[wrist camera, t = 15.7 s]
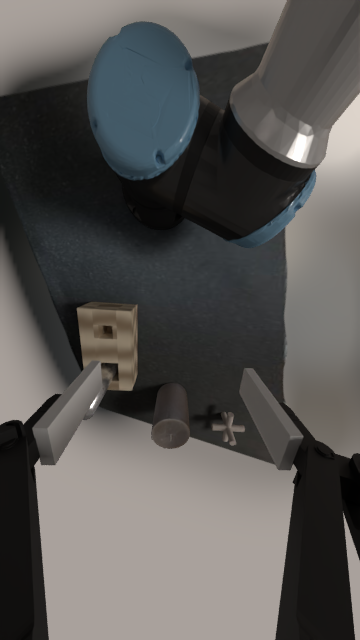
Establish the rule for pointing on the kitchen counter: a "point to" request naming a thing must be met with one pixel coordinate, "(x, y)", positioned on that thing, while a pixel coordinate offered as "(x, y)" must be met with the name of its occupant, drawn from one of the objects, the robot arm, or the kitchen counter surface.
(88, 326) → the hole block
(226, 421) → the pipe connector
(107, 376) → the pin
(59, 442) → the robot arm
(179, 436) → the pillar candle
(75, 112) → the kitchen counter surface
